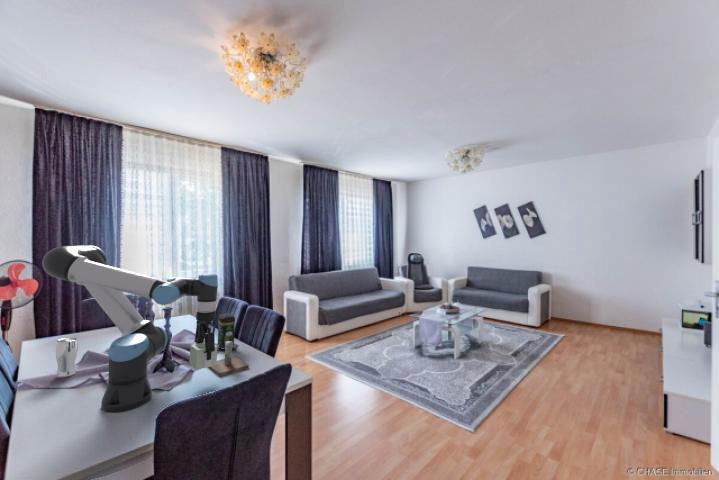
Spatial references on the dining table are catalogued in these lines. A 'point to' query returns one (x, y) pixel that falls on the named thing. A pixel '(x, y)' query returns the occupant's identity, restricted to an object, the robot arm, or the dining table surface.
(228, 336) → the coffee jar
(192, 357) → the collar
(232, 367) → the post board
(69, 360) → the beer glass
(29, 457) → the dining table surface
